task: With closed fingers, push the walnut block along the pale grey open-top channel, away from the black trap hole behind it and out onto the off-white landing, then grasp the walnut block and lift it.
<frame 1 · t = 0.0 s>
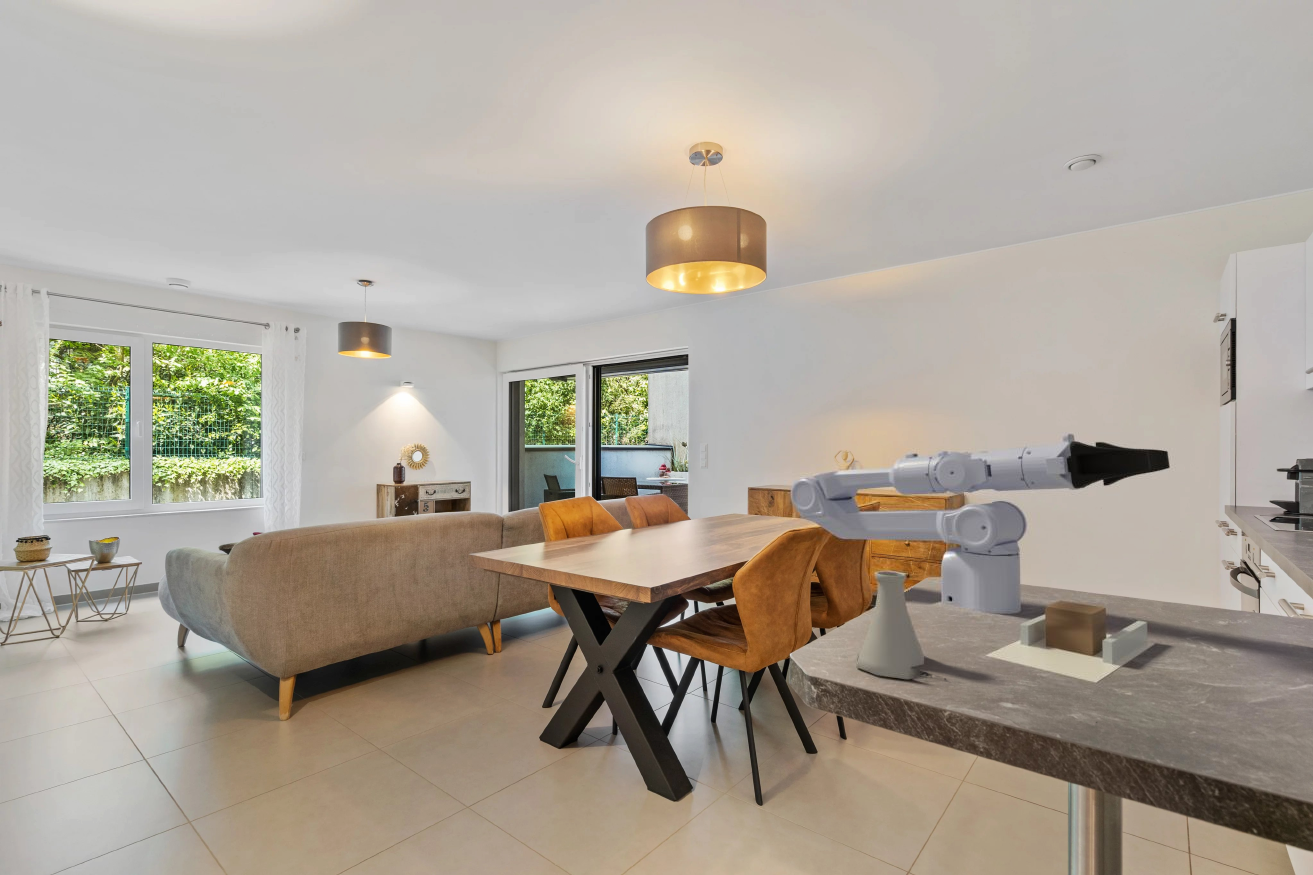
hand: (1158, 459, 72), 22 cm above the breakfast bar, tool horizontal, fingers open, 7 cm apart
flask: (891, 670, 66), on the breakfast bar
trap channel: (1072, 660, 68), on the breakfast bar
walnut block: (1076, 647, 69), point 1 cm above the breakfast bar, touching trap channel
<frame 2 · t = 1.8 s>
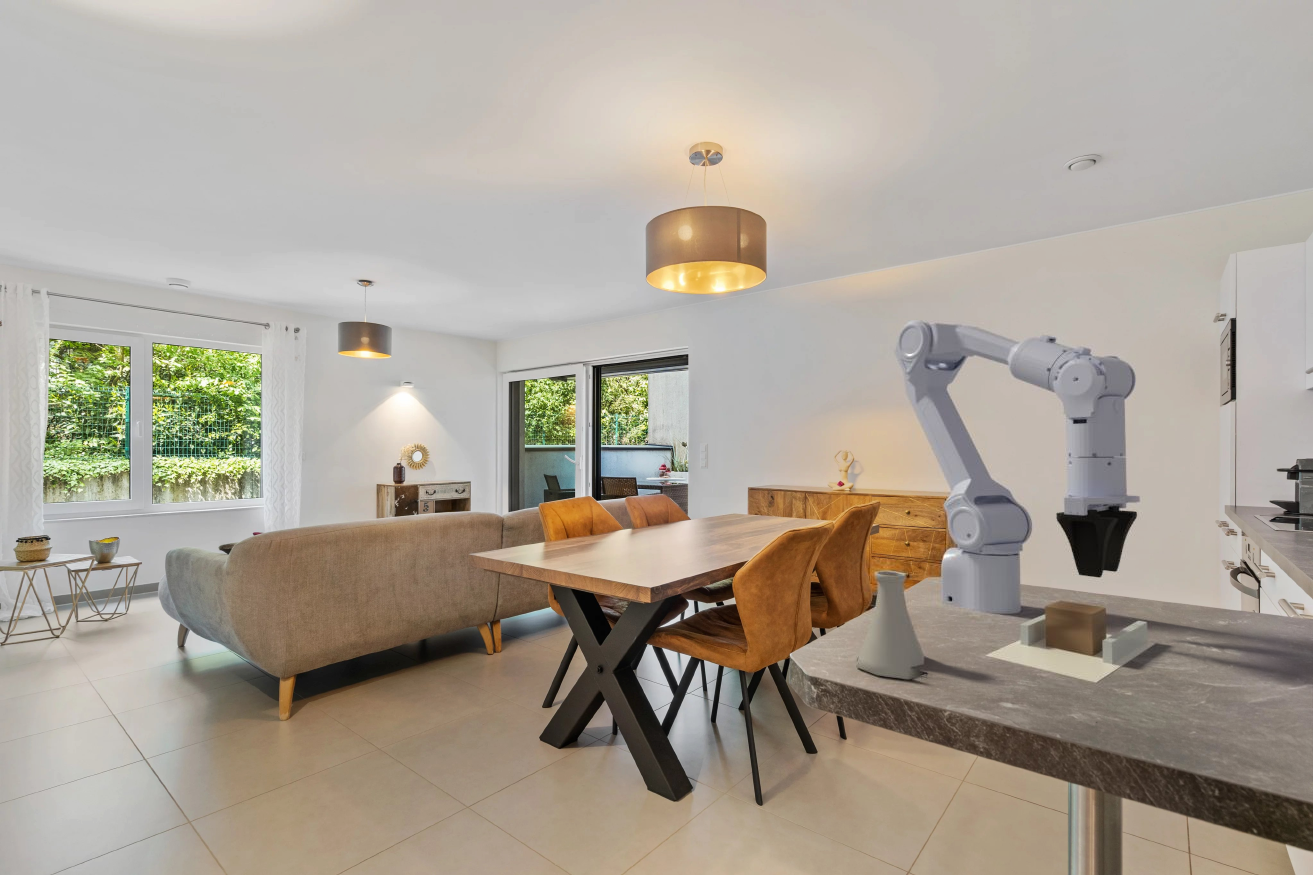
hand: (1098, 573, 73), 8 cm above the breakfast bar, tool pointing down, fingers open, 5 cm apart
nothing on the breakfast bar moved.
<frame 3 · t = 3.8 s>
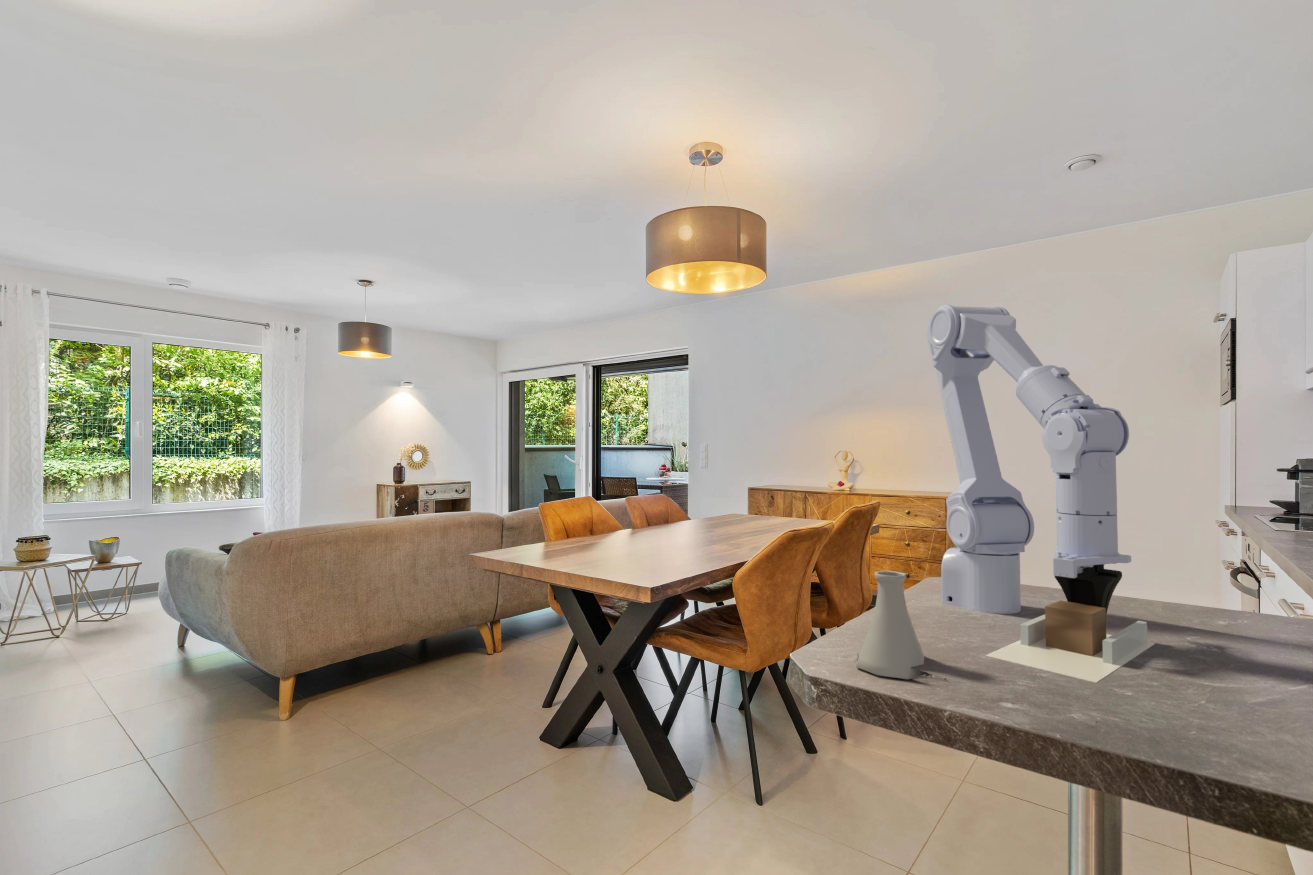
hand: (1088, 633, 71), 2 cm above the breakfast bar, tool pointing down, fingers closed
walnut block: (1076, 647, 69), point 1 cm above the breakfast bar, touching gripper, trap channel
everything else where it was.
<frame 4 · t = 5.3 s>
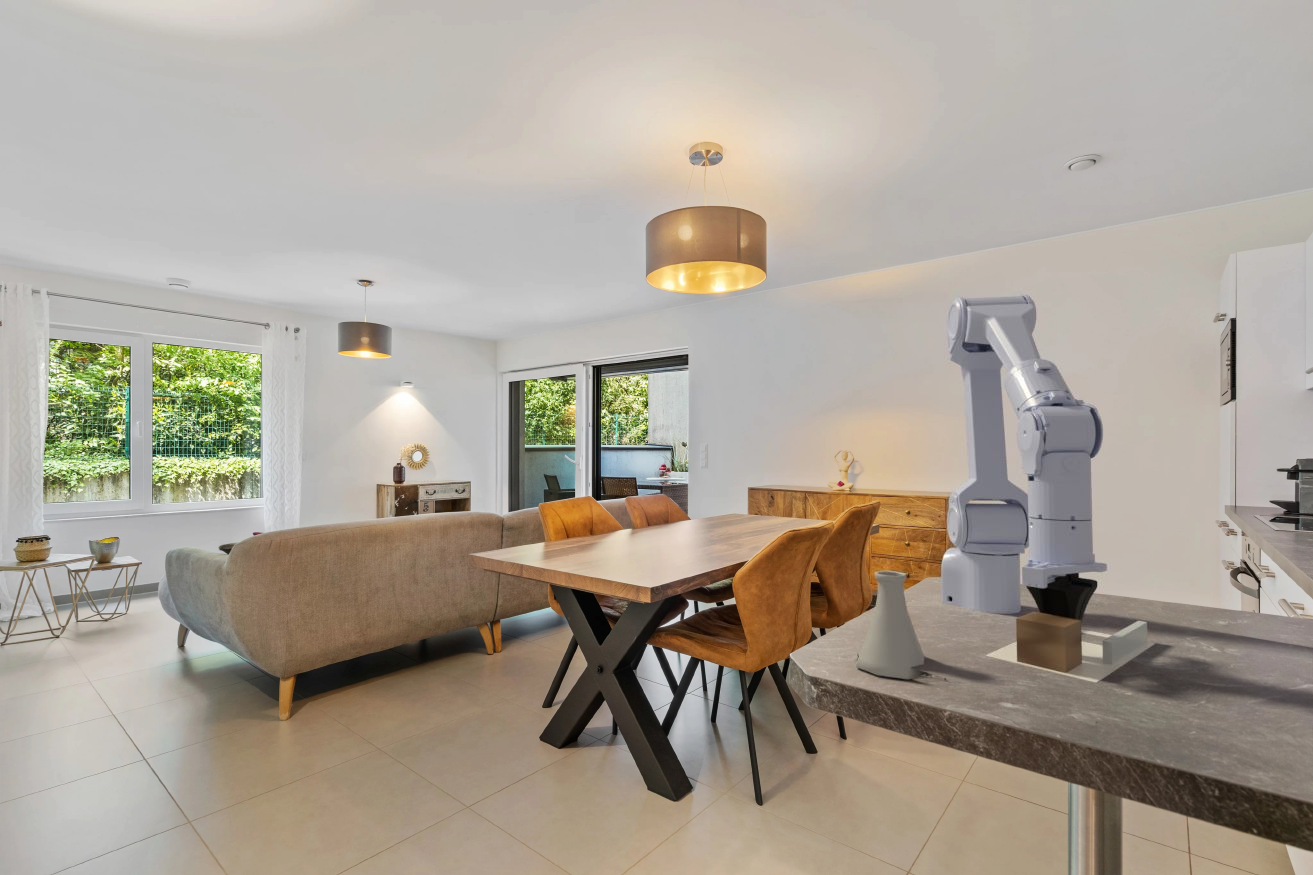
hand: (1062, 646, 66), 2 cm above the breakfast bar, tool pointing down, fingers closed
walnut block: (1049, 662, 64), point 1 cm above the breakfast bar, touching gripper, trap channel
everything else where it was.
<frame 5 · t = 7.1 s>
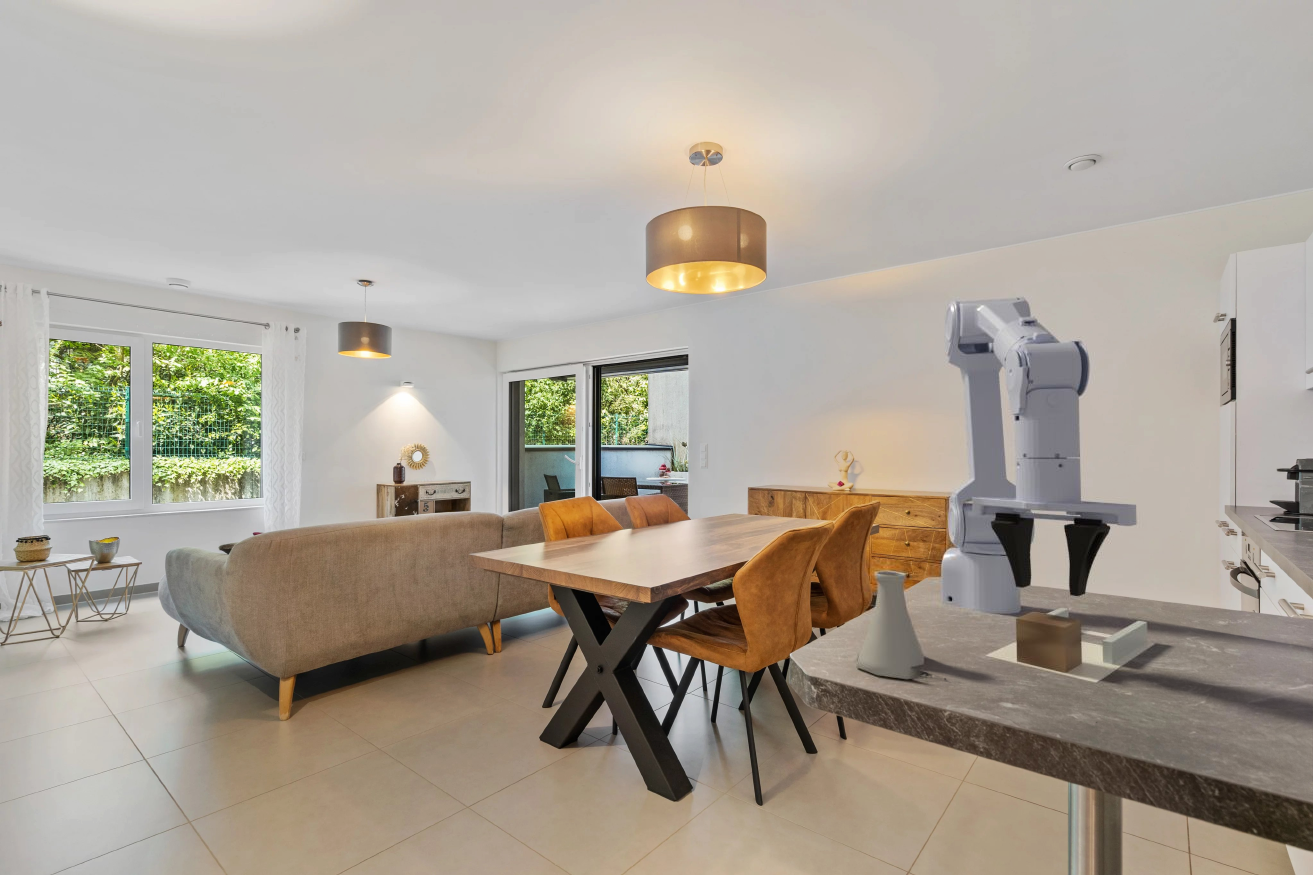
hand: (1049, 590, 64), 8 cm above the breakfast bar, tool pointing down, fingers open, 4 cm apart
walnut block: (1049, 662, 64), point 1 cm above the breakfast bar, touching trap channel
everything else where it was.
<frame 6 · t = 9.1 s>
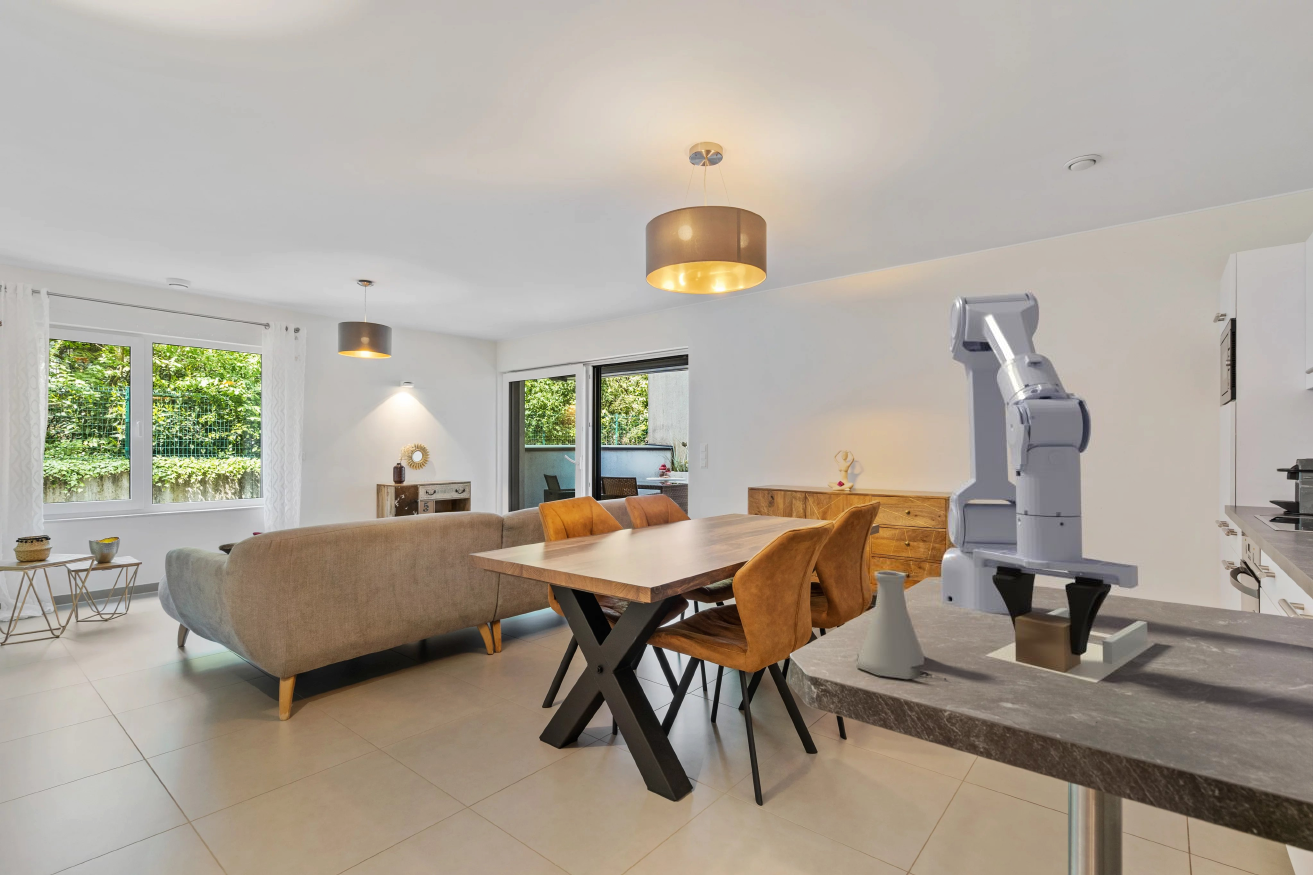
hand: (1050, 646, 64), 3 cm above the breakfast bar, tool pointing down, fingers closed on walnut block, 4 cm apart
walnut block: (1047, 662, 64), point 1 cm above the breakfast bar, touching gripper, trap channel
everything else where it was.
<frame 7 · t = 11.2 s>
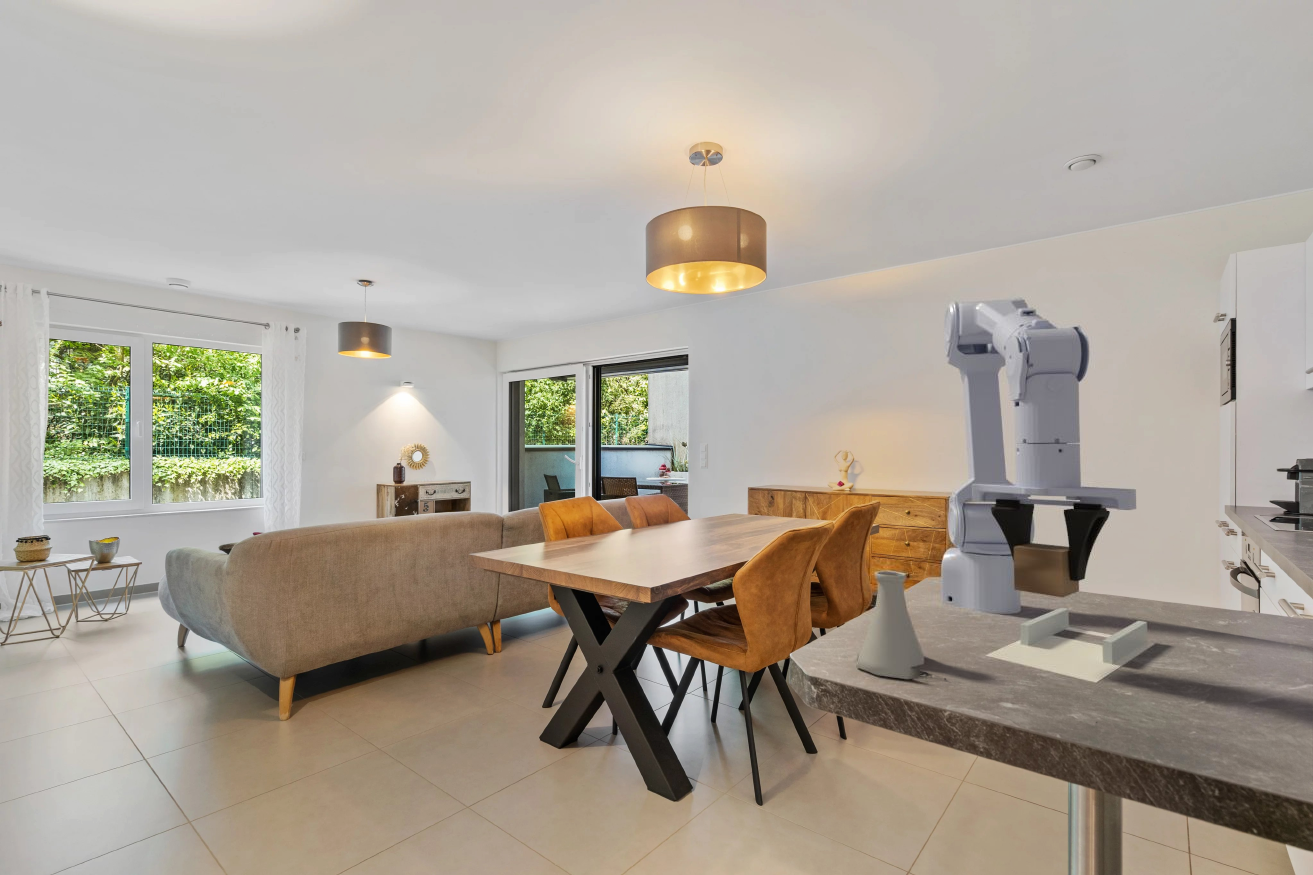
hand: (1049, 575, 64), 10 cm above the breakfast bar, tool pointing down, fingers closed on walnut block, 4 cm apart
walnut block: (1046, 590, 64), point 8 cm above the breakfast bar, touching gripper
everything else where it was.
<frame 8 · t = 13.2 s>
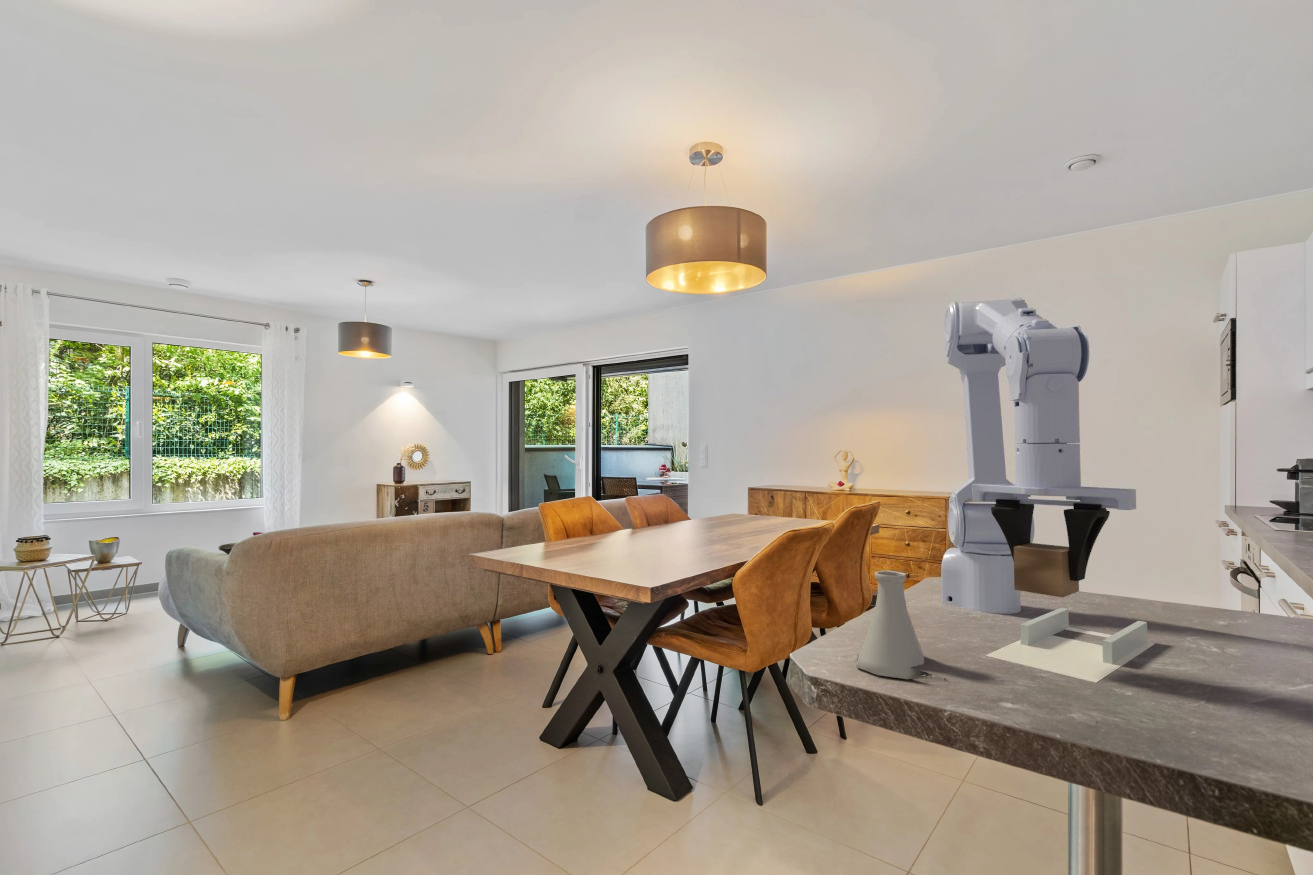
hand: (1049, 575, 64), 10 cm above the breakfast bar, tool pointing down, fingers closed on walnut block, 4 cm apart
walnut block: (1046, 590, 64), point 8 cm above the breakfast bar, touching gripper
everything else where it was.
at the end: the gripper is holding walnut block; walnut block inside the target area (0.8 cm from its centre), point 8.5 cm above the breakfast bar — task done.
